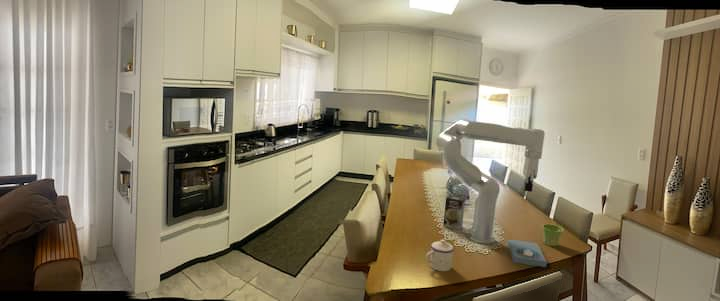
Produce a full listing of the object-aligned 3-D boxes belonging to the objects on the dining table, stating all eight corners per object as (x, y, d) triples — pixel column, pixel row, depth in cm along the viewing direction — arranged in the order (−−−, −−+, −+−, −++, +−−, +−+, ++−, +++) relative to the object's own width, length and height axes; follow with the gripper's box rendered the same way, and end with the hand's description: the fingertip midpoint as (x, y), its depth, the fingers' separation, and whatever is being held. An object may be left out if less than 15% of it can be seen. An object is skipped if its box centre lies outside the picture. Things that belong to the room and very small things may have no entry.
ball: (521, 247, 171) (520, 257, 171) (524, 249, 167) (523, 260, 167) (532, 249, 170) (531, 259, 170) (534, 251, 166) (534, 261, 166)
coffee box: (442, 226, 203) (445, 197, 200) (445, 222, 208) (448, 194, 205) (459, 230, 199) (462, 200, 196) (462, 226, 204) (465, 197, 201)
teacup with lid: (443, 260, 163) (445, 234, 161) (456, 270, 155) (459, 243, 153) (419, 264, 159) (421, 237, 156) (431, 274, 150) (434, 247, 148)
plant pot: (558, 250, 181) (561, 232, 179) (537, 244, 186) (540, 227, 185) (562, 244, 188) (565, 227, 187) (542, 238, 194) (544, 222, 192)
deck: (507, 244, 184) (508, 239, 184) (536, 248, 181) (536, 243, 181) (513, 262, 165) (514, 256, 165) (546, 267, 162) (546, 261, 162)
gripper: (522, 151, 192) (517, 186, 196) (527, 156, 178) (522, 194, 181) (538, 152, 191) (533, 187, 194) (544, 158, 176) (539, 196, 180)
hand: (528, 190), depth 188 cm, fingers closed
